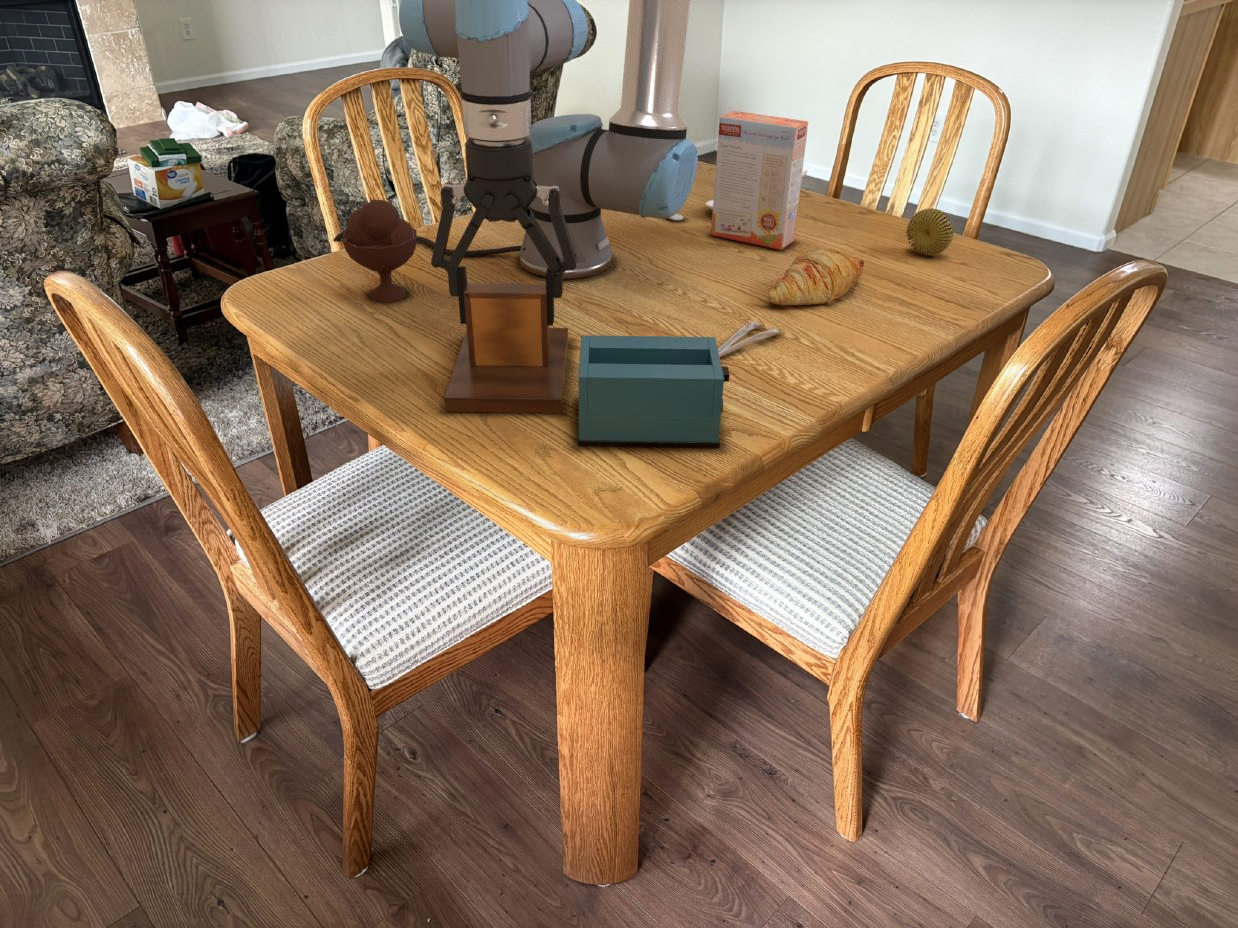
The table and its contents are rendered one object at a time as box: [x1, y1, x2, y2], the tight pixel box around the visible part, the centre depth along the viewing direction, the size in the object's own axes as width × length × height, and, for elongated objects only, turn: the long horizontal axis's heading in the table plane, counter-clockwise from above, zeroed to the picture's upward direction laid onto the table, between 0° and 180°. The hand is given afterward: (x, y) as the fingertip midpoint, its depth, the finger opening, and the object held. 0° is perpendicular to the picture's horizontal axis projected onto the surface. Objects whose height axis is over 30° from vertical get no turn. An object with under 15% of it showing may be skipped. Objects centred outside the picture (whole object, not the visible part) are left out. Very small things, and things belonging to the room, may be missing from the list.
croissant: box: [767, 249, 865, 306], centre depth 141 cm, size 21×10×8 cm, turn 130°
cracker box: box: [710, 110, 809, 251], centre depth 156 cm, size 14×6×21 cm, turn 58°
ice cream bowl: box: [341, 199, 418, 303], centre depth 135 cm, size 11×11×15 cm
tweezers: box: [718, 320, 780, 358], centre depth 124 cm, size 17×5×2 cm, turn 137°
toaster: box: [576, 334, 731, 449], centre depth 106 cm, size 17×11×9 cm, turn 90°
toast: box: [464, 282, 550, 367], centre depth 114 cm, size 10×3×10 cm, turn 90°
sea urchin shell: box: [906, 207, 955, 257], centre depth 155 cm, size 8×4×8 cm, turn 48°
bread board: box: [444, 327, 569, 414], centre depth 119 cm, size 24×14×2 cm, turn 0°
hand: (507, 320), depth 114 cm, fingers closed on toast, 10 cm apart
